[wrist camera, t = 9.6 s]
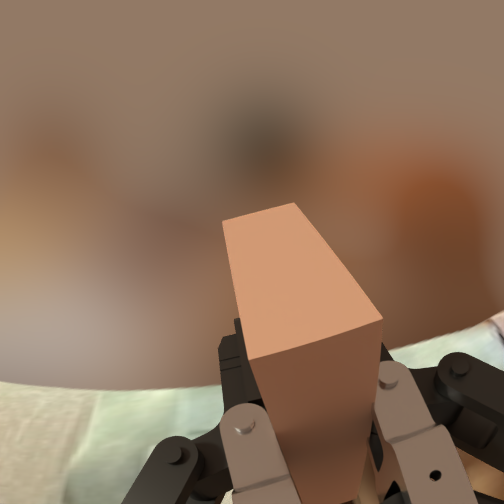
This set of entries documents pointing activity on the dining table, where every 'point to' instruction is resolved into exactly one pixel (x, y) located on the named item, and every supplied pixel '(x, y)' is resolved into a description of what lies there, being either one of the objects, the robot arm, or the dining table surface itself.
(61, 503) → the dining table surface
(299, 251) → the block
